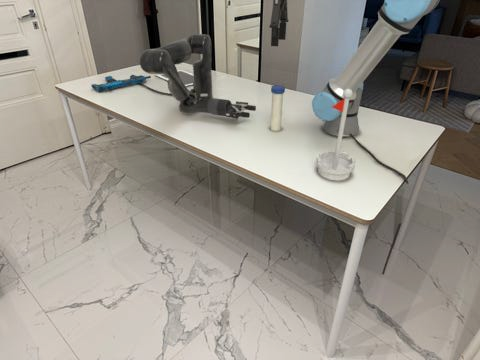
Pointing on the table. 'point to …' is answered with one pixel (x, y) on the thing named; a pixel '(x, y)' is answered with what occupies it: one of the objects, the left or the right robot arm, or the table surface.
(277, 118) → the tube
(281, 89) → the lid
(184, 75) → the tablet
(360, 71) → the right robot arm
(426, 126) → the table surface
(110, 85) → the submachine gun
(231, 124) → the table surface
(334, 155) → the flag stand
